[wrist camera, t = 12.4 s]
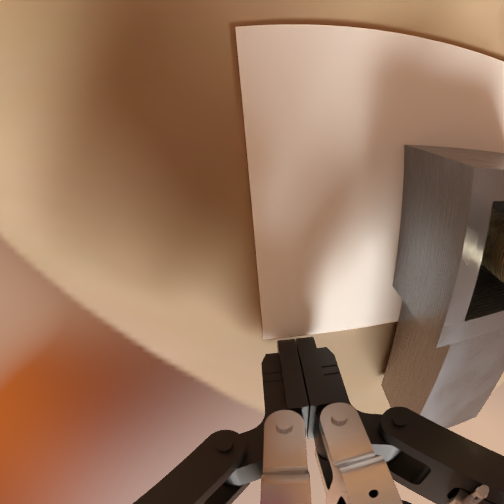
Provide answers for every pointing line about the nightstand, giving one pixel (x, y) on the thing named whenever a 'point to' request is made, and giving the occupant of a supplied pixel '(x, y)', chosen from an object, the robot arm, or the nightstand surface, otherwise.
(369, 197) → the board
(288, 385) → the robot arm
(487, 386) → the link
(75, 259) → the nightstand surface
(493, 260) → the cylinder
